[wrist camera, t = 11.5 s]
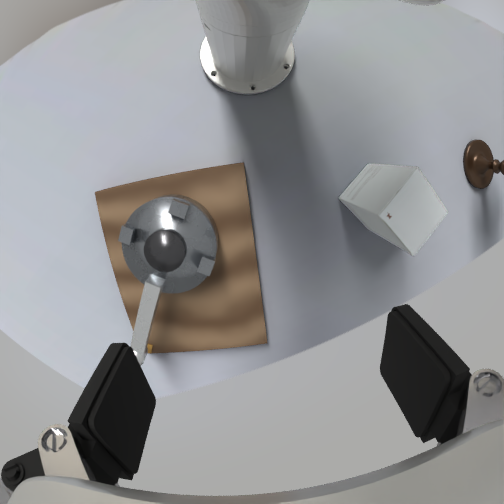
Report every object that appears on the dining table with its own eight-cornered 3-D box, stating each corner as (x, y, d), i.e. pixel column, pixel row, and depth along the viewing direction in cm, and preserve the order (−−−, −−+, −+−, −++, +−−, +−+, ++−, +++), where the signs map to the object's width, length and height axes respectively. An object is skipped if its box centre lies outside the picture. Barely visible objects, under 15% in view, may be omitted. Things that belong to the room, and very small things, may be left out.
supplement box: (368, 231, 40) (413, 259, 28) (336, 197, 38) (376, 214, 26) (398, 196, 38) (450, 213, 26) (368, 161, 36) (418, 164, 24)
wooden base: (101, 190, 36) (94, 192, 34) (243, 162, 36) (243, 162, 34) (145, 346, 44) (142, 354, 42) (266, 336, 44) (267, 343, 42)
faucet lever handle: (146, 181, 34) (127, 186, 28) (232, 213, 36) (230, 225, 30) (112, 325, 41) (96, 349, 34) (180, 352, 42) (172, 379, 36)
